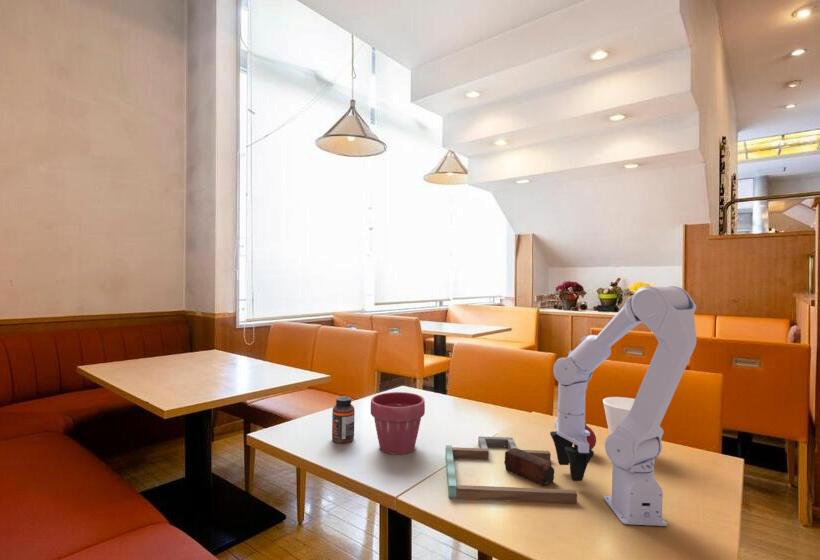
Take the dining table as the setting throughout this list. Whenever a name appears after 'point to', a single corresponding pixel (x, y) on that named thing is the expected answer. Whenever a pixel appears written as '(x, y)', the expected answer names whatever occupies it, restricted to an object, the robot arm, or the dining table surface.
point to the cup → (616, 410)
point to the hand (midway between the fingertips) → (570, 472)
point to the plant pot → (397, 420)
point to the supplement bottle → (343, 420)
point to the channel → (499, 492)
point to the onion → (590, 437)
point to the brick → (529, 466)
